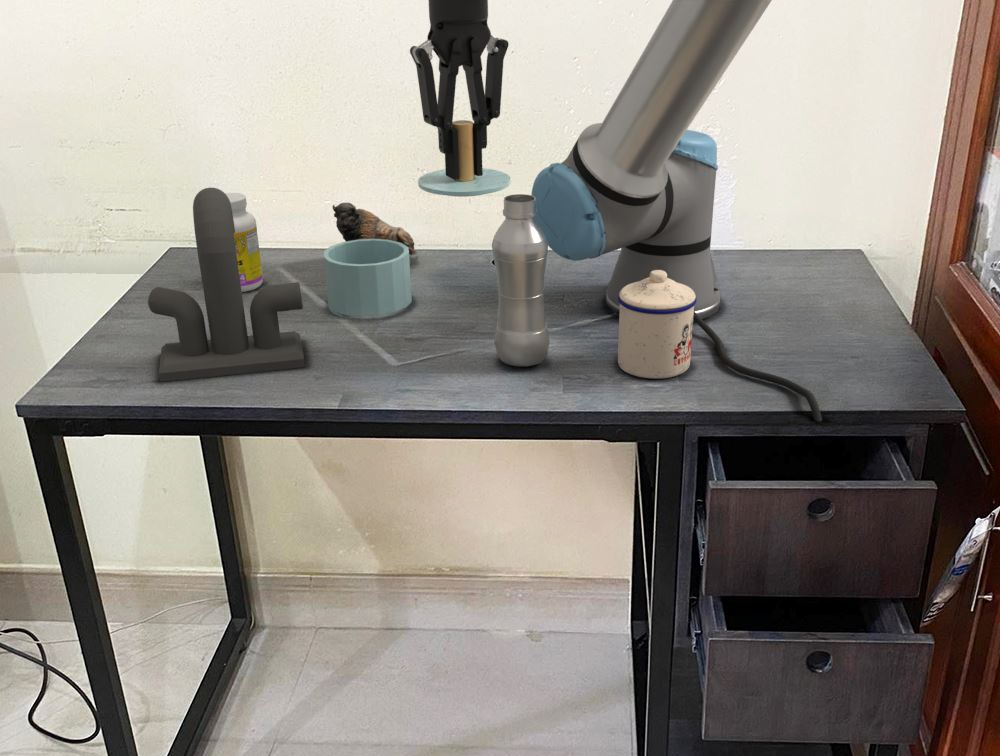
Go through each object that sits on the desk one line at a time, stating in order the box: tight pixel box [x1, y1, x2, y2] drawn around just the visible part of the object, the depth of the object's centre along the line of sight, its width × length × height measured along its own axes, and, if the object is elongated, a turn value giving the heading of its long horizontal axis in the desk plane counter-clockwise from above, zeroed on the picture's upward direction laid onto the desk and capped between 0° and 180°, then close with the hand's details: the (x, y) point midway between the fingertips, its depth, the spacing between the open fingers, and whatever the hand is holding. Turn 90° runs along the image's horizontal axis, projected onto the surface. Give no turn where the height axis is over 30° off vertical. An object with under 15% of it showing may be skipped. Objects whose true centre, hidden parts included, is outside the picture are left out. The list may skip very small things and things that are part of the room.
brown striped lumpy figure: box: [332, 202, 419, 265], centre depth 168 cm, size 12×7×10 cm, turn 96°
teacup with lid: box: [617, 270, 697, 380], centre depth 136 cm, size 12×9×12 cm
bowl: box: [322, 239, 413, 319], centre depth 156 cm, size 11×11×8 cm
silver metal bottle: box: [491, 193, 550, 367], centre depth 135 cm, size 6×7×20 cm
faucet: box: [147, 187, 306, 383], centre depth 140 cm, size 18×16×20 cm
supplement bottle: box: [224, 192, 264, 293], centre depth 162 cm, size 7×7×13 cm
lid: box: [417, 119, 512, 198], centre depth 155 cm, size 13×13×9 cm
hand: (464, 175), depth 156 cm, fingers closed on lid, 3 cm apart
